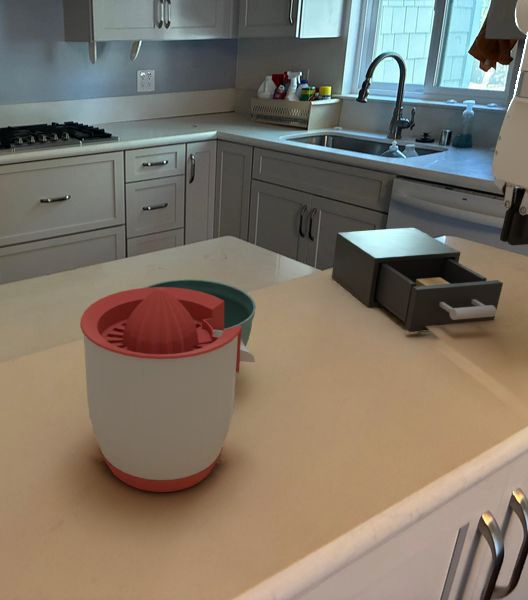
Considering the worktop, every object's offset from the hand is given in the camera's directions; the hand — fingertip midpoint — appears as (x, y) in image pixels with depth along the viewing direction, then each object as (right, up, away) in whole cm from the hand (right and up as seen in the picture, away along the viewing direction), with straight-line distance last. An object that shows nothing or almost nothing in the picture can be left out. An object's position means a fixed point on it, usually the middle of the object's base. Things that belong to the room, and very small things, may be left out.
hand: (516, 241), depth 77 cm
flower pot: (-41, -18, +5) cm, 45 cm away
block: (-1, -8, +19) cm, 20 cm away
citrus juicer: (-44, -25, -10) cm, 52 cm away
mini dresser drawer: (-1, -10, +18) cm, 20 cm away
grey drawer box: (-3, -5, +31) cm, 31 cm away
